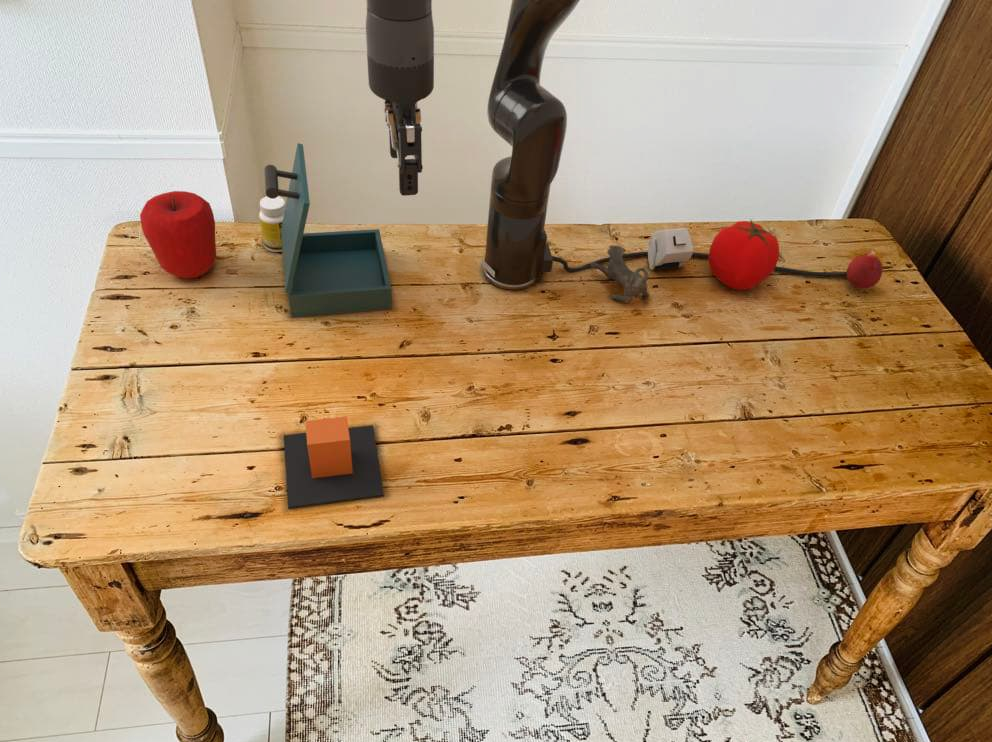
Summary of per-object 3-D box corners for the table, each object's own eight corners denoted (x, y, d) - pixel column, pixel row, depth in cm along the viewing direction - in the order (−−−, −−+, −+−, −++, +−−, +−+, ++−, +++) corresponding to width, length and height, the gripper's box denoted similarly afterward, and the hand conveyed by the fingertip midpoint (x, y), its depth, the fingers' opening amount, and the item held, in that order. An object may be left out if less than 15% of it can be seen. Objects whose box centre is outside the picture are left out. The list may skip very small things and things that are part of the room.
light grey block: (644, 273, 145) (668, 261, 136) (639, 237, 145) (662, 222, 136) (674, 270, 147) (700, 258, 137) (668, 234, 147) (694, 220, 137)
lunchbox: (379, 249, 139) (379, 229, 136) (391, 309, 129) (391, 288, 126) (286, 255, 136) (283, 234, 132) (291, 317, 126) (288, 296, 122)
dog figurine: (653, 305, 137) (663, 270, 131) (625, 313, 134) (634, 278, 129) (614, 263, 143) (622, 229, 138) (587, 271, 141) (594, 236, 136)
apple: (217, 244, 136) (201, 172, 126) (230, 281, 130) (215, 209, 120) (150, 255, 132) (129, 183, 122) (160, 294, 126) (139, 221, 116)
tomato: (708, 297, 140) (726, 245, 131) (697, 256, 147) (714, 204, 139) (774, 302, 141) (797, 250, 133) (760, 261, 148) (780, 210, 140)
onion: (874, 284, 147) (893, 249, 141) (869, 302, 144) (889, 266, 138) (842, 273, 149) (860, 238, 143) (837, 291, 145) (855, 255, 139)
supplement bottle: (285, 255, 135) (280, 213, 129) (259, 249, 136) (251, 207, 130) (296, 239, 139) (291, 197, 133) (270, 233, 139) (264, 191, 133)
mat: (373, 426, 112) (372, 424, 112) (383, 496, 105) (383, 494, 105) (283, 436, 110) (283, 434, 109) (288, 508, 102) (288, 507, 102)
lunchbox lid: (303, 144, 122) (265, 136, 119) (309, 203, 112) (269, 196, 109) (285, 232, 132) (251, 227, 130) (290, 294, 122) (253, 289, 120)
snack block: (349, 450, 109) (346, 416, 104) (352, 473, 106) (349, 439, 101) (310, 454, 108) (305, 420, 102) (312, 478, 105) (307, 444, 100)
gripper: (444, 78, 87) (442, 205, 99) (423, 20, 96) (423, 143, 108) (374, 80, 85) (381, 209, 98) (359, 21, 94) (367, 146, 106)
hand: (403, 174), depth 103 cm, fingers open, 8 cm apart
